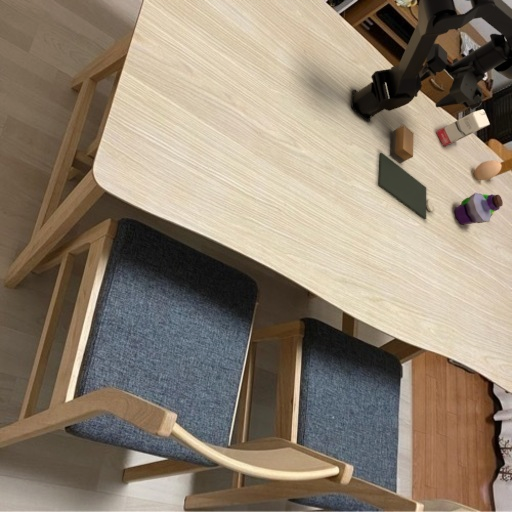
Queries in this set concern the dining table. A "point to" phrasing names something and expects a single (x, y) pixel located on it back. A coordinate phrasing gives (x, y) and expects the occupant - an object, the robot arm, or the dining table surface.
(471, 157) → the dining table surface
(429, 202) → the beige disc
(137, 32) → the dining table surface
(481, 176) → the egg
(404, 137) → the brown rectangular block
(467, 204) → the potion bottle
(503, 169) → the supplement box
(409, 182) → the chalkboard
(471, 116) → the ink box
